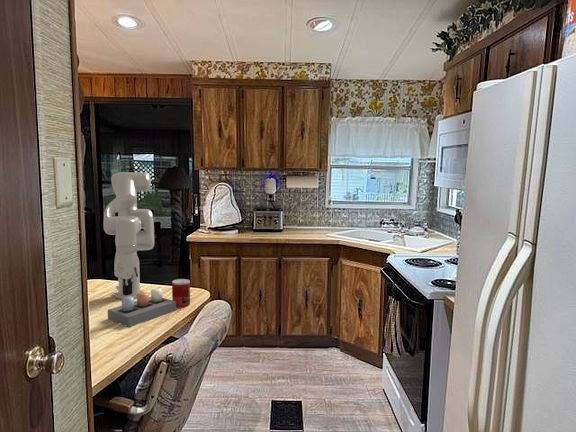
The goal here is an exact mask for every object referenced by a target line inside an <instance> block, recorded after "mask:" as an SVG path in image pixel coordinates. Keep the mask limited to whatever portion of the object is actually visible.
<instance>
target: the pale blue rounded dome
mask: <svg viewBox="0 0 576 432" xmlns="http://www.w3.org/2000/svg"><path fill="white" fill-rule="evenodd" d="M134 302H135V298H134V297H132V296H128V297H123V298H122V299H121V306H122V310H123V311H130V310H133V309H134Z"/></svg>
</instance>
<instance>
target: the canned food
mask: <svg viewBox="0 0 576 432" xmlns="http://www.w3.org/2000/svg"><path fill="white" fill-rule="evenodd" d="M171 281H172V282H171V293H172V295H171V297H172V298H171V300H172V301H176V308H186V307H189V306H190V305H191V281H190V279H185V278H177V279H174V280H171Z"/></svg>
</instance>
